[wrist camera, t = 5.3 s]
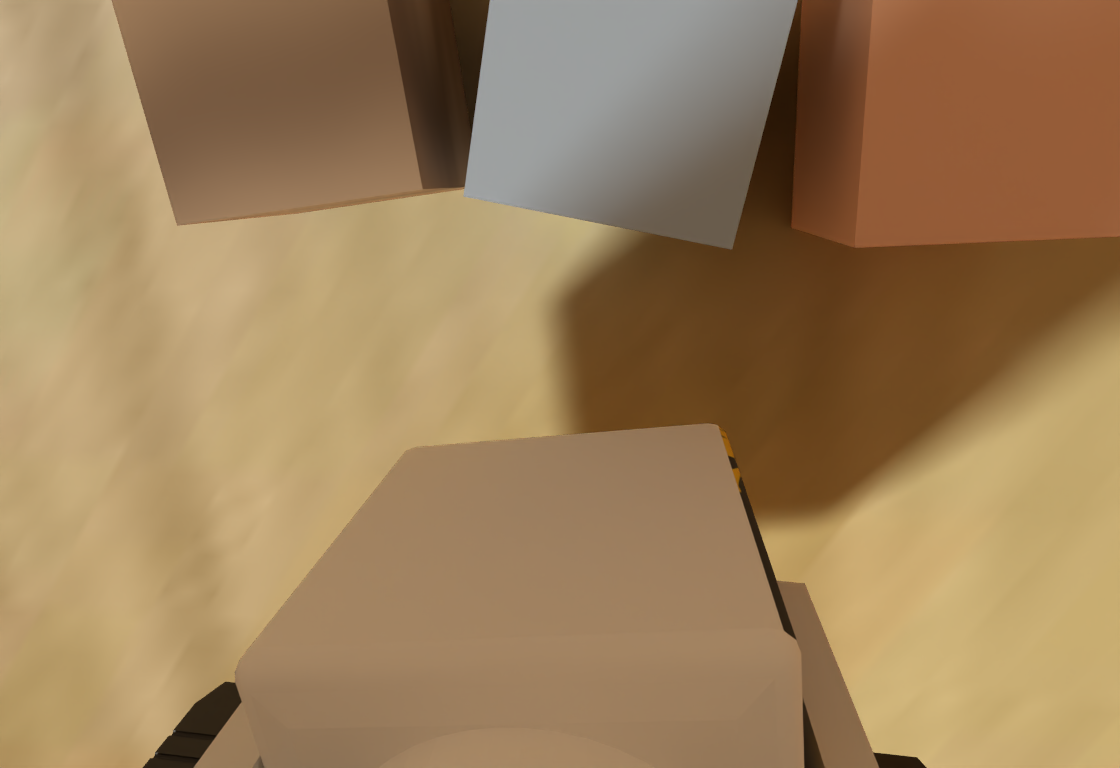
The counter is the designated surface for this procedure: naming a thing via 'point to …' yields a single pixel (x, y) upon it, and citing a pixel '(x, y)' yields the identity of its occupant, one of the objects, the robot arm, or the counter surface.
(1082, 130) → the terracotta cube
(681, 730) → the medicine bottle
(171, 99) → the walnut cube
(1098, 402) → the counter surface
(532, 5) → the slate blue cube
